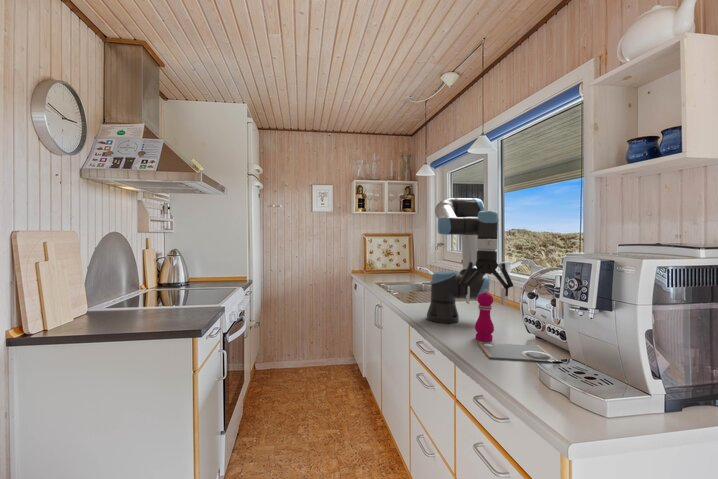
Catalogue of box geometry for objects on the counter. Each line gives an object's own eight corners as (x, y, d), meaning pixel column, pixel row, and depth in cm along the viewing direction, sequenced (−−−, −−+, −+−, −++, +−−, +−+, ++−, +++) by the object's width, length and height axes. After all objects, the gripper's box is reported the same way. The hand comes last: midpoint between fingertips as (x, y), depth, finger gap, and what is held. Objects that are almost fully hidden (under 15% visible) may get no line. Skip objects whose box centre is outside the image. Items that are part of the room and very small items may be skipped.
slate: (477, 344, 135) (477, 342, 135) (538, 347, 133) (538, 345, 133) (490, 360, 118) (490, 357, 118) (559, 363, 116) (559, 361, 116)
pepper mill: (490, 337, 145) (492, 288, 145) (495, 342, 138) (497, 290, 138) (472, 336, 146) (474, 287, 145) (476, 341, 139) (478, 290, 138)
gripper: (456, 249, 139) (454, 304, 139) (523, 251, 136) (521, 307, 136) (453, 248, 146) (451, 300, 146) (516, 250, 144) (514, 303, 144)
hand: (485, 304), depth 141 cm, fingers open, 13 cm apart
